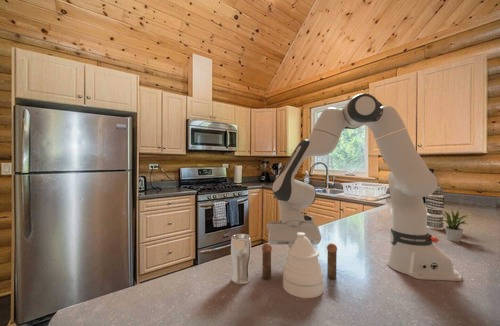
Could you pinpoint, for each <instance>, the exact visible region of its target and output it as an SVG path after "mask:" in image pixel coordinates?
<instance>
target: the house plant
mask: <svg viewBox="0 0 500 326" xmlns="http://www.w3.org/2000/svg"><path fill="white" fill-rule="evenodd" d="M443 212H444V213H445V214H444V213H442V214H443V217H445V218H446V219H440V220H443V221H442V222H445V223H446V224H447V226H444V229H445V233H446V234H445V236H446V240H448V241H449V242H454V243H455V242H456V243H459V242H461V240H462V236H463V232H464V231H463V230H464V229H463V228H461V227H460V226H461V225H467V226H469V224H470V223H467V222H466V220H463V219H464V218H465V219H466V218H468V216H470V213H468V214H467V213H466V214H464V215H462V216H461V217H460V213H461V211H460V210H459V208H458V209H457V210H456V213H454V210H453V209H452V208H451V211H450V212H449V213H448V212H447V211H446V210H445V209H444V210H443ZM450 213H451V215H452V216H451V215H450ZM451 217H452V218H451ZM462 220H463V221H462Z"/></svg>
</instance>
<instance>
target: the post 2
mask: <svg viewBox="0 0 500 326" xmlns="http://www.w3.org/2000/svg"><path fill="white" fill-rule="evenodd" d="M326 251H327V267H326V268H327V273H326V275H327V276H326V278H328V279H330V280H336V279H337V259H338V258H337V251H338V247H337V245H336V244H335V243H331V242H330V243H328V244H327V246H326Z"/></svg>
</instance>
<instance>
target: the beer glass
mask: <svg viewBox="0 0 500 326" xmlns="http://www.w3.org/2000/svg"><path fill="white" fill-rule="evenodd" d="M251 254H252V240H251V236H250V235H249V234H247V233H237V234H233V235H232V236H231V241H230V256H231V261H232V267H233V268H232V270H233V271H232V272H233V273H232V277H231V280H232V283H233V284H236V285H246V284H248V283H249V282H250V281H251V279H250V278H251V277H250V270H249V269H250V268H249V267H250V261H251V256H252V255H251Z"/></svg>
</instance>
